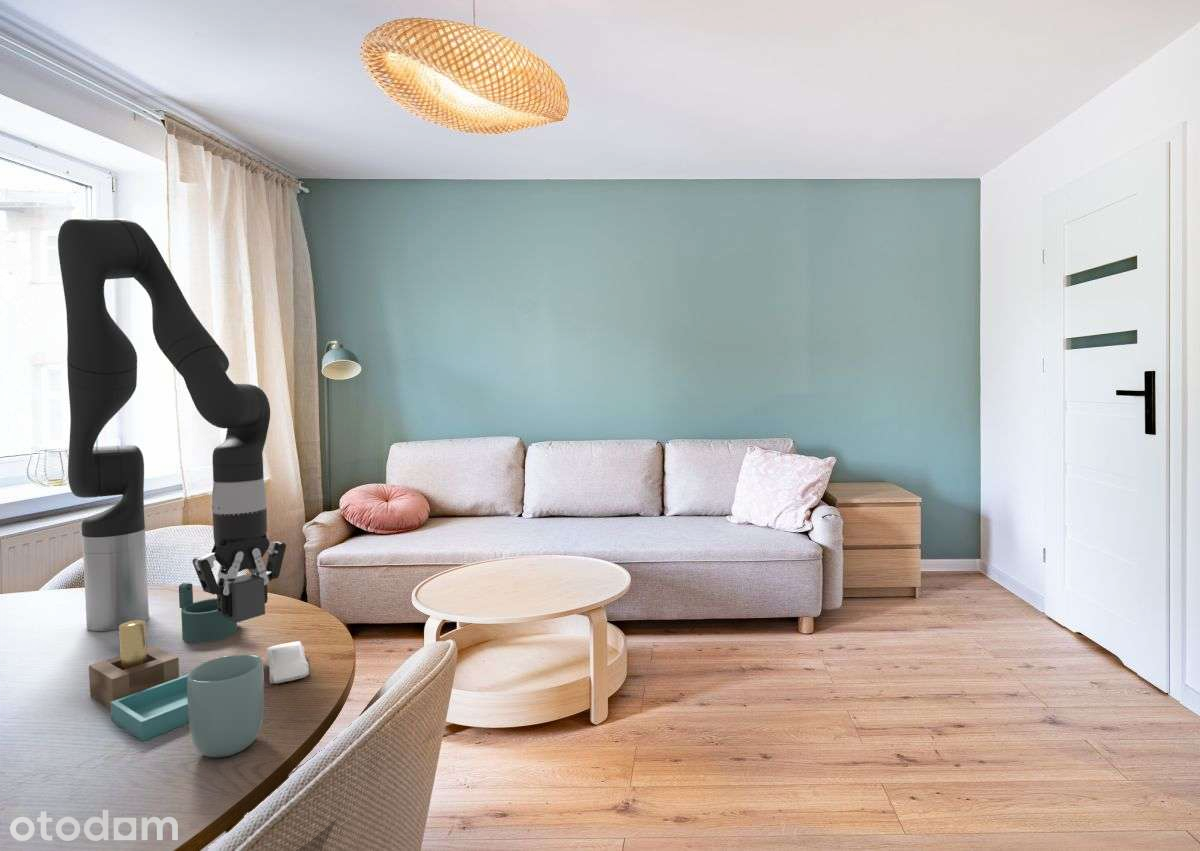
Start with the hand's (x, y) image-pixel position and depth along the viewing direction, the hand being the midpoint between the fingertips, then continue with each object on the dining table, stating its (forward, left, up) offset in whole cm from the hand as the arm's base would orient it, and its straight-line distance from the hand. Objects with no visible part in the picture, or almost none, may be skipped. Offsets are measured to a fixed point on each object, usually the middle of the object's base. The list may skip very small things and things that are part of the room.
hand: (243, 611), depth 100 cm
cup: (+24, -15, -8) cm, 30 cm away
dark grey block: (0, 0, -1) cm, 1 cm away
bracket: (-16, +2, -8) cm, 18 cm away
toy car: (+10, +1, -8) cm, 13 cm away
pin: (-2, -15, -8) cm, 17 cm away
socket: (-2, -15, -8) cm, 17 cm away
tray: (+9, -14, -8) cm, 18 cm away
